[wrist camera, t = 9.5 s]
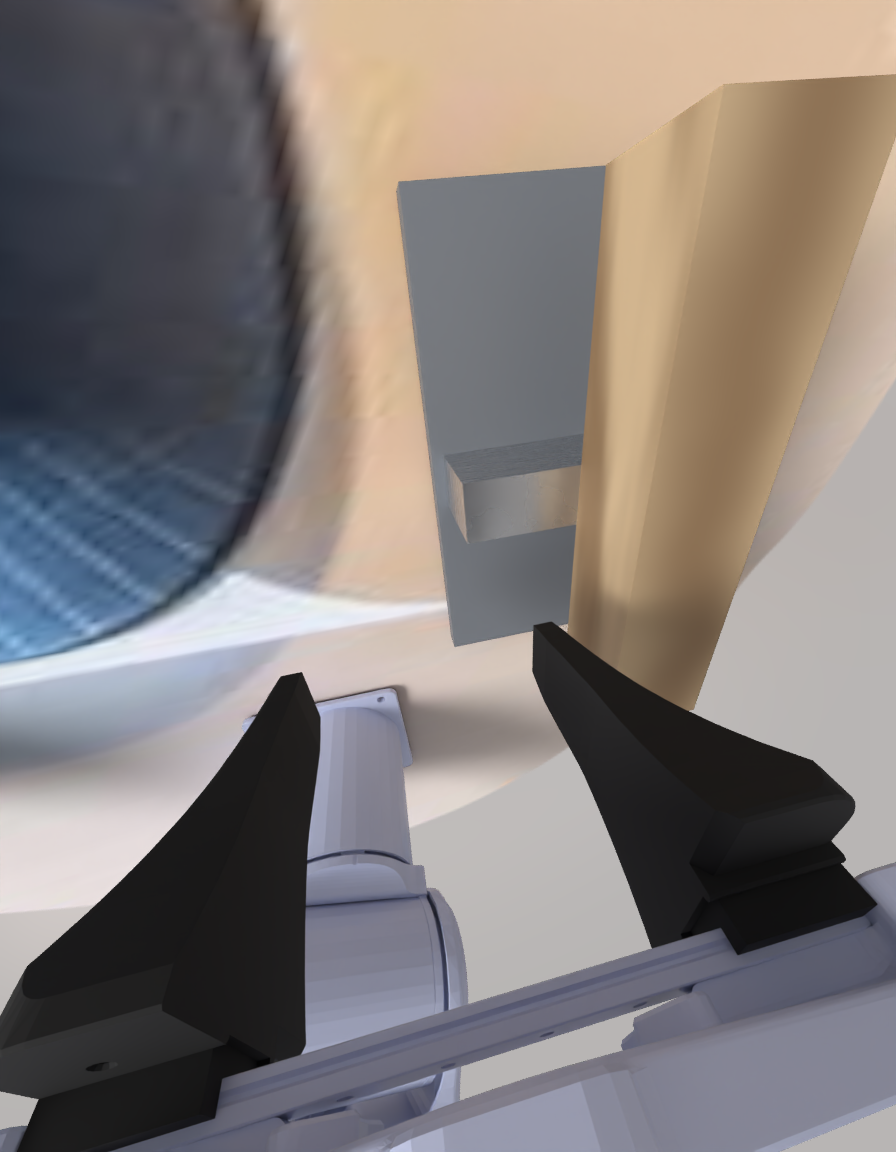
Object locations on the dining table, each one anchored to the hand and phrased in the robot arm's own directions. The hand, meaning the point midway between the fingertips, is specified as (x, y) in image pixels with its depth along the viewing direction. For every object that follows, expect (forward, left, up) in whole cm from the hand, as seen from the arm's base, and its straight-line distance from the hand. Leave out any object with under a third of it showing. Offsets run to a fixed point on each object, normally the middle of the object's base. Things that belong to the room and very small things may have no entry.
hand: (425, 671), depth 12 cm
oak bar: (+9, +3, -4) cm, 10 cm away
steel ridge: (+9, +3, -9) cm, 13 cm away
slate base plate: (+9, +3, -9) cm, 13 cm away
